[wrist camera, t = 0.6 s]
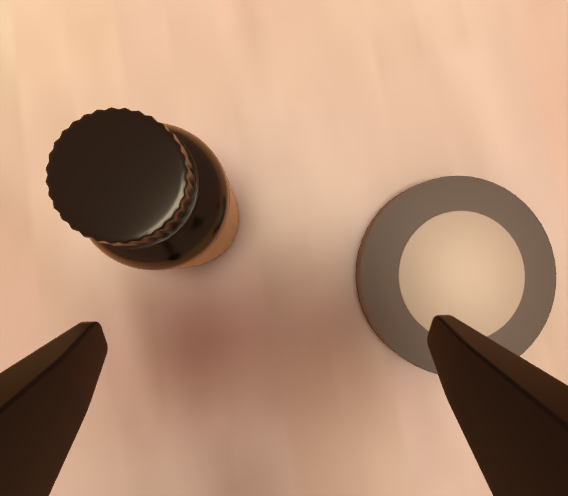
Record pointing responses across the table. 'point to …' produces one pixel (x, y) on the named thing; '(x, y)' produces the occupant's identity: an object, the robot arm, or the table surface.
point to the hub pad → (455, 266)
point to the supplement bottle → (142, 190)
